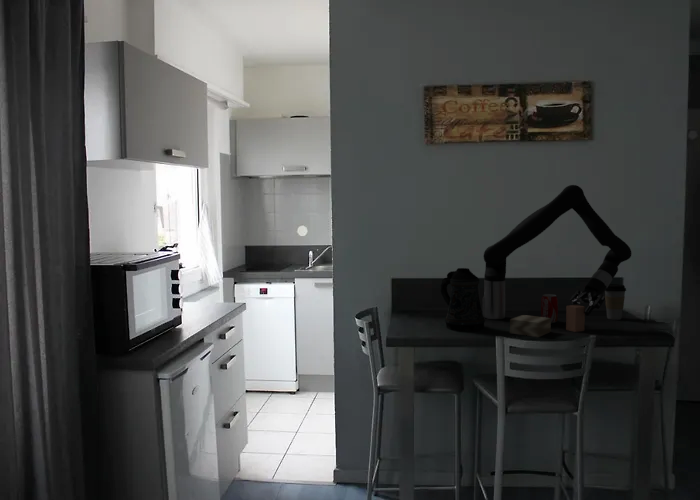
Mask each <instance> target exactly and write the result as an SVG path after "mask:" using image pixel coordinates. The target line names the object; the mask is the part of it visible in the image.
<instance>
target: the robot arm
mask: <svg viewBox="0 0 700 500" xmlns="http://www.w3.org/2000/svg"><path fill="white" fill-rule="evenodd" d="M570 210H573V211H574V212H575V213H576V214H577V215H578V216H579V217H580V219H581V220H582V221H583V222H584V223H583V224H584V225H585V226H586V227H587V228H588V231H589V232H590V233H591V235H593V237H594V238H595V239H596V240H597V242H599V244H600V245H601V246H602V247H607V248H609V250H608V251H607V252H606V254H605V256H604V258H603V261H602V263H601V264H600V265H599V267H598V268H597V269H596V271H595V272H594V273H593V274H592V275H591V277H590V278H589V280H588V281H587V283H586V284H585V286H584V290H583V291H580V289H577V290H576V291H575V292H574V293H573V294H572V296H571V297H570V299H569V301H570V302H571V304H570V305H579V306H580V305H581V304H583V303H586V304H587V303H588V304H589V305H588V306H587V307H585V311H584V313H585V316H587V317H589V315H590V314H591V313H592V312H593V310H596V309H597V310H598V309H600V308H601V306H602V305H603V303H604V301H605V295H604V294H605V290H606V289H607V287H608V286H609V284H611V283H612V281H613V279H614V278H615V277H616V275H617V274H618V272H619V268H618V267H619V265H620V264H621V263H623V262H626V261H627V260H630V258H631V257H632V250H631V247H630V246H629V245H628V244H627V243H626V241H624V240H623V239H622V238H620V237H619V236H617V235H616V233H614V231H613V230H612V229H611V228H610V226H609V225H608V224H607V223H606V221H605V220H603V218H602V217H601V216H600V215H599V213H597V212H596V211H595V209H594V208H593V207H592V206H591V204H590V203H589V201H588V199H587V197H586V196H585V192H584V190H583V188H582V187H580V186H579V185H577V184H570V185H567V186H566V187H564V188H563V189H562V190H561V192H559V194H558V195H556V196H555V198H553V199H552V200H551V201H550V202H549V203H547V204H546V205H544V206H542V207H541V208H539V209H537V210H536V211H533V213H531V214H530V215H528V216H526V218H523V220H521V222H519V224H517V225H516V226H515V227H514V228H512V230H510V231H509V233H507V235H506V236H505V237H503V238H501V239H499V241H497V242H496V243H494V244H492V245H489V246H488V247H486V248H485V251H483V260H484V262H485V271H484V278H483V279H484V280H483V281H484V284H483V285H484V291H483V292H484V295H483V297H482V314H483V317H484V319H487V320H503V319H505V318H506V273H507V258H508V257H509V256H510V255H512V254H513V252H515V251H516V250H517V249H519V248H521V247H522V246H525V245H526V244H528V243H529V242H531V241H532V240H534V239H535V238H537V237H538V236H539V235H541V234H542V233H544V231H546V230H547V229H548V228H549V227H550V226H551V225H553V224H554V222H555V221H556V220H558V218H560V217H561V216H562V215H564V214H566V213H567V212H569V211H570Z"/></svg>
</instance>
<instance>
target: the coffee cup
mask: <svg viewBox="0 0 700 500" xmlns="http://www.w3.org/2000/svg"><path fill="white" fill-rule="evenodd" d="M626 291H627V288H626V287H625V285H624V284H619V283H618V284H617V283H616V284H615V283H612V284H611V283H610V284H609V286H608V287H607V289H606V290H605V292H604V297H605V300H604V301H605V308H606V318H607V319H608V320H613V321H617V320H618V321H619V320H622V316H623V309H624V306H625V305H624V303H625V299H626V297H625V293H626Z"/></svg>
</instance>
